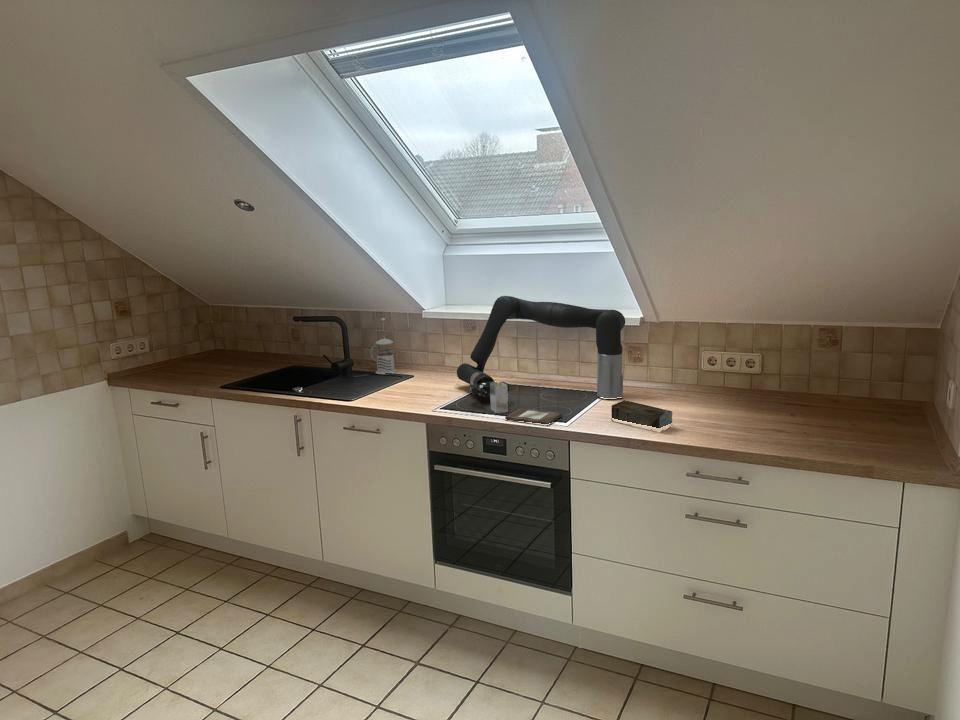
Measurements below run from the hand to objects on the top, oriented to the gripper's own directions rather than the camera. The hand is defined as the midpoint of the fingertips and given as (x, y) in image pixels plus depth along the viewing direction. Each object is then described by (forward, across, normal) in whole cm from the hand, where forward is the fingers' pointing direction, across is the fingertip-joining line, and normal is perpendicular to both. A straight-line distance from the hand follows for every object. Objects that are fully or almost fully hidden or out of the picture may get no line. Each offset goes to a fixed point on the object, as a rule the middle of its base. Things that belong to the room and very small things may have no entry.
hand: (495, 392), depth 250 cm
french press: (-77, -28, +6) cm, 82 cm away
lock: (+3, 0, +6) cm, 7 cm away
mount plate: (+17, +8, +6) cm, 20 cm away
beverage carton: (+37, +38, +7) cm, 53 cm away
